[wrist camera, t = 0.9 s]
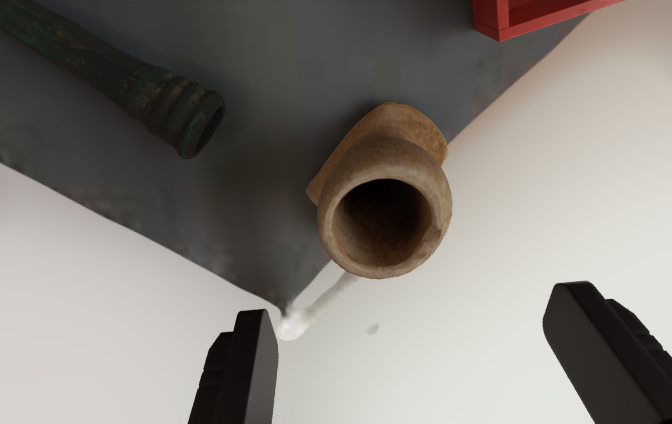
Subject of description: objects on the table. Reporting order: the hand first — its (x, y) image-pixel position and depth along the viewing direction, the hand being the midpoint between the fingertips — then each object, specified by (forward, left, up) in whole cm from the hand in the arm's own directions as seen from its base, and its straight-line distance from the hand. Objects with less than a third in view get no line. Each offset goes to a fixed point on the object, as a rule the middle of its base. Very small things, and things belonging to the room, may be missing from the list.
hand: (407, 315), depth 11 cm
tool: (-10, -22, -28) cm, 37 cm away
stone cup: (+9, -1, -28) cm, 29 cm away
